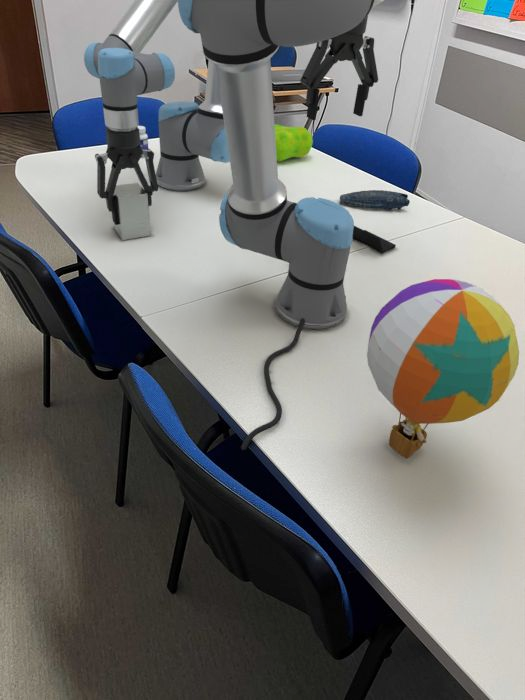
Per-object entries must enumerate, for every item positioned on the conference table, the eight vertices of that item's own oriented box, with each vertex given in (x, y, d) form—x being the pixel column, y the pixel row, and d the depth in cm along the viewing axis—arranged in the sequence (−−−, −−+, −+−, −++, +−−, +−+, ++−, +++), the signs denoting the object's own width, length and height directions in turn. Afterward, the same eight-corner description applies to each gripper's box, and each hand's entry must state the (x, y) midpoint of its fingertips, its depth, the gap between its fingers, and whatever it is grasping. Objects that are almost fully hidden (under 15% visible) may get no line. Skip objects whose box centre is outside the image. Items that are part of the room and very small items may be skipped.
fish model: (408, 214, 157) (412, 198, 153) (339, 207, 158) (341, 191, 154) (406, 206, 162) (410, 190, 159) (339, 199, 163) (341, 183, 160)
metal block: (150, 235, 134) (147, 193, 127) (122, 240, 131) (118, 197, 124) (141, 223, 139) (137, 182, 132) (114, 228, 136) (109, 186, 129)
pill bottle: (130, 154, 179) (128, 127, 174) (138, 150, 183) (136, 124, 178) (143, 157, 178) (142, 130, 173) (151, 153, 182) (150, 126, 176)
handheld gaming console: (400, 239, 139) (392, 217, 131) (388, 262, 138) (379, 241, 130) (362, 231, 145) (352, 209, 137) (350, 252, 144) (340, 232, 136)
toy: (318, 439, 84) (351, 278, 65) (393, 389, 94) (440, 239, 76) (417, 524, 73) (492, 360, 54) (489, 457, 83) (573, 301, 65)
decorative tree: (227, 120, 186) (308, 120, 191) (227, 150, 193) (305, 149, 198) (234, 135, 173) (321, 134, 178) (234, 166, 179) (317, 165, 184)
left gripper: (158, 118, 125) (163, 208, 140) (73, 125, 117) (87, 220, 131) (170, 128, 120) (173, 220, 135) (81, 135, 112) (95, 232, 126)
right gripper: (385, 9, 118) (366, 109, 131) (291, 6, 107) (281, 115, 121) (407, 14, 113) (385, 117, 126) (311, 12, 102) (298, 124, 116)
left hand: (131, 219), depth 133 cm, fingers closed on metal block, 7 cm apart
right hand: (334, 116), depth 123 cm, fingers open, 13 cm apart
